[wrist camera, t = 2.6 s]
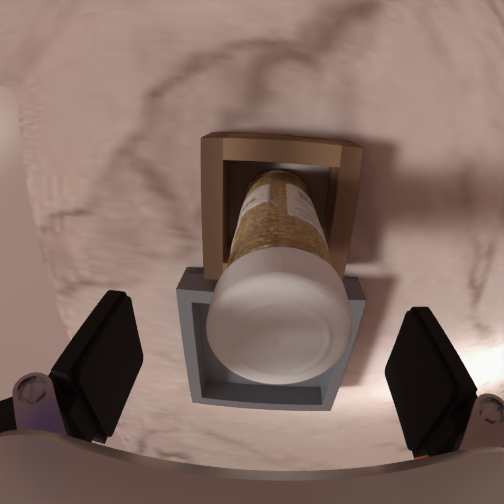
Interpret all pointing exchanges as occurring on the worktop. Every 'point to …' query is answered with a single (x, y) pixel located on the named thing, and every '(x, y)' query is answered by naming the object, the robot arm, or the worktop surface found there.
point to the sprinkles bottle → (279, 289)
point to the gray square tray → (235, 386)
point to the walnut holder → (284, 151)
